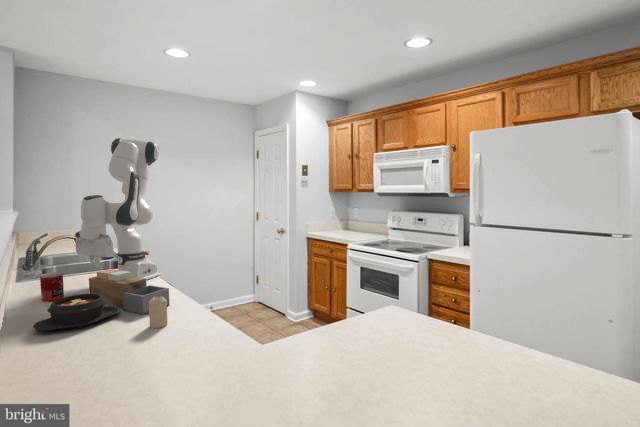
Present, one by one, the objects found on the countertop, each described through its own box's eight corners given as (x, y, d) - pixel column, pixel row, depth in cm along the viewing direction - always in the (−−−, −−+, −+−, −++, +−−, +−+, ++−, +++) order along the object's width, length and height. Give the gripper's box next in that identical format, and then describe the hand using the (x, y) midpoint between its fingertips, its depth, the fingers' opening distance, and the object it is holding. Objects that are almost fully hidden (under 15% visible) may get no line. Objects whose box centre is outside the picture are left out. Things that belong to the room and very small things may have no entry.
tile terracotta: (110, 274, 157) (110, 269, 157) (120, 276, 154) (119, 270, 154) (96, 278, 151) (96, 272, 151) (106, 279, 149) (105, 273, 149)
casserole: (41, 341, 113) (39, 314, 112) (27, 326, 125) (26, 302, 125) (126, 319, 132) (125, 296, 131) (107, 308, 144) (106, 287, 143)
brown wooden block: (110, 296, 160) (109, 273, 159) (147, 302, 150) (146, 278, 149) (90, 301, 152) (88, 278, 151) (127, 309, 142) (125, 284, 141)
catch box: (150, 301, 151) (149, 285, 151) (169, 305, 147) (168, 288, 146) (123, 310, 141) (122, 292, 140) (143, 314, 136) (142, 296, 135)
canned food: (55, 302, 152) (54, 276, 151) (36, 302, 152) (34, 276, 151) (68, 296, 160) (67, 271, 159) (50, 296, 160) (48, 271, 159)
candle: (146, 326, 124) (145, 297, 123) (160, 321, 129) (159, 293, 128) (157, 329, 121) (156, 300, 121) (171, 324, 126) (169, 295, 126)
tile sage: (121, 276, 154) (121, 270, 153) (131, 277, 151) (130, 271, 151) (107, 279, 148) (107, 273, 148) (117, 281, 146) (117, 275, 145)
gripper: (117, 234, 153) (118, 267, 154) (86, 232, 162) (87, 263, 163) (102, 235, 147) (103, 269, 148) (71, 233, 156) (73, 265, 157)
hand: (95, 266), depth 155 cm, fingers closed
